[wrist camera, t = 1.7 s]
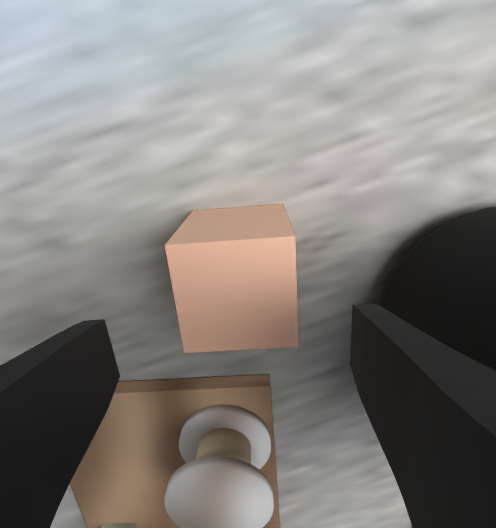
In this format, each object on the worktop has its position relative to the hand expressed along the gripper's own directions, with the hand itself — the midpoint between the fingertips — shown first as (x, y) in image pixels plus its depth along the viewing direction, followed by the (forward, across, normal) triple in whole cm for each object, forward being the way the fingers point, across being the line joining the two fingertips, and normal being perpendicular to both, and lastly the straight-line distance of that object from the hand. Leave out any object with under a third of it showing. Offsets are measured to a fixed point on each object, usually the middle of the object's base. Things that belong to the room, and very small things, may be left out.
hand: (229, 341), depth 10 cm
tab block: (+8, 0, 0) cm, 8 cm away
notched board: (+8, +6, +19) cm, 22 cm away
